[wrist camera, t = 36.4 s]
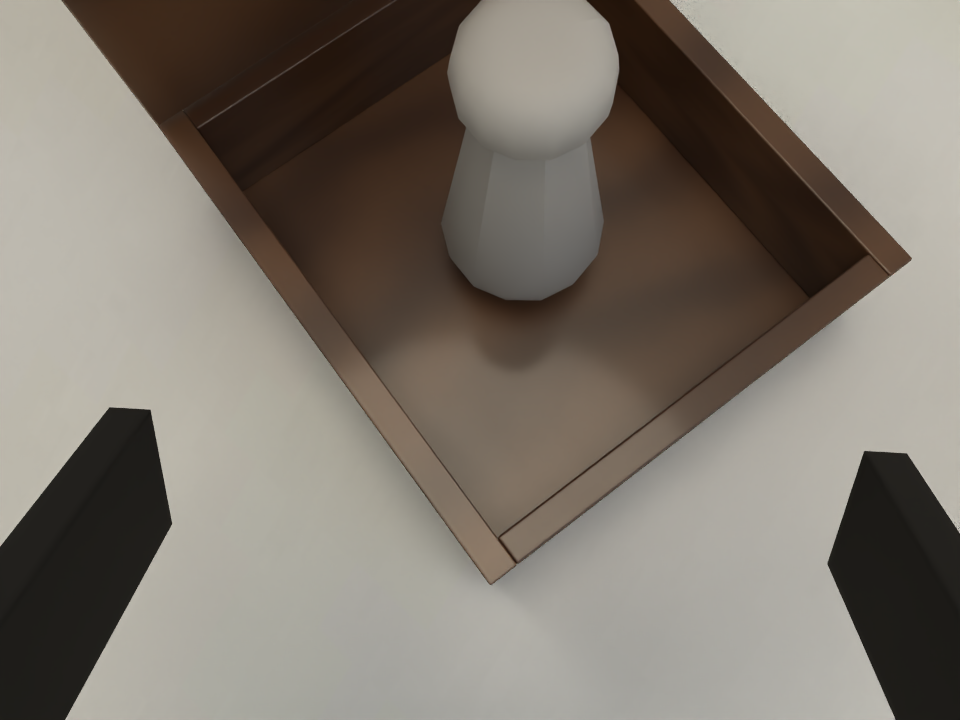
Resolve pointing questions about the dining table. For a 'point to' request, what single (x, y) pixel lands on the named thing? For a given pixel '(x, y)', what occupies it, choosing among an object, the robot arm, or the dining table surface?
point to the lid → (191, 41)
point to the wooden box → (529, 323)
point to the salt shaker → (528, 144)
